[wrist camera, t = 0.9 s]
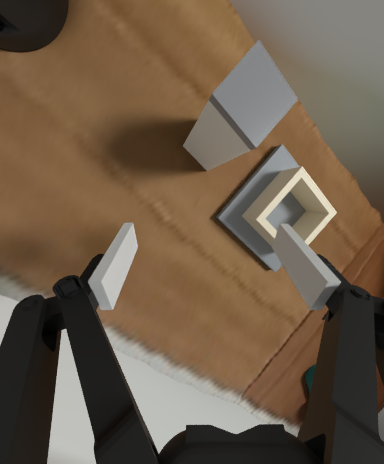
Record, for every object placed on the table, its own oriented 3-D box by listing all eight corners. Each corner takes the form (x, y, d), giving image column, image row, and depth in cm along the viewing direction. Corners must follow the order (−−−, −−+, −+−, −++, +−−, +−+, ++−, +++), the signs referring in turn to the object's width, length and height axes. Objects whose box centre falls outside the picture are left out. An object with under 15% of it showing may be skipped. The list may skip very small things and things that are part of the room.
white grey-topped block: (182, 145, 30) (212, 93, 15) (205, 119, 30) (258, 39, 15) (207, 171, 32) (256, 147, 17) (228, 146, 32) (298, 99, 16)
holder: (215, 217, 34) (229, 221, 28) (277, 146, 34) (304, 135, 27) (271, 269, 39) (293, 283, 33) (324, 208, 39) (357, 210, 33)
